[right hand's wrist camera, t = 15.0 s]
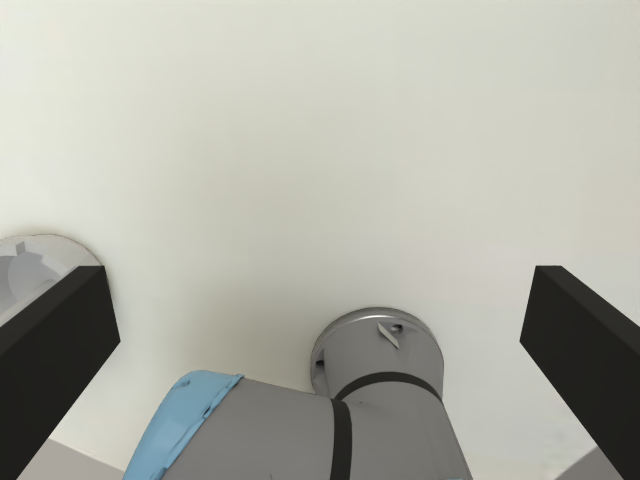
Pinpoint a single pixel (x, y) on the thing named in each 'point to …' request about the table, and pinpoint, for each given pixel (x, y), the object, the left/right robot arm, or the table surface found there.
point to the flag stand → (35, 268)
